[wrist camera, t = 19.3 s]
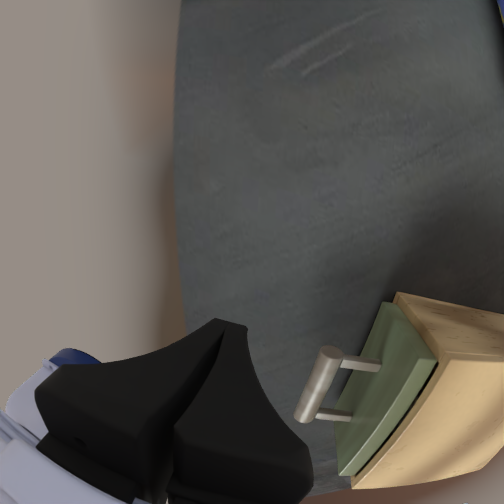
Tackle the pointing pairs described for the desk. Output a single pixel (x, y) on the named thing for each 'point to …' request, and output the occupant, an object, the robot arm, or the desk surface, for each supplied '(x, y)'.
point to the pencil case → (501, 9)
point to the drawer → (369, 387)
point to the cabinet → (447, 399)
